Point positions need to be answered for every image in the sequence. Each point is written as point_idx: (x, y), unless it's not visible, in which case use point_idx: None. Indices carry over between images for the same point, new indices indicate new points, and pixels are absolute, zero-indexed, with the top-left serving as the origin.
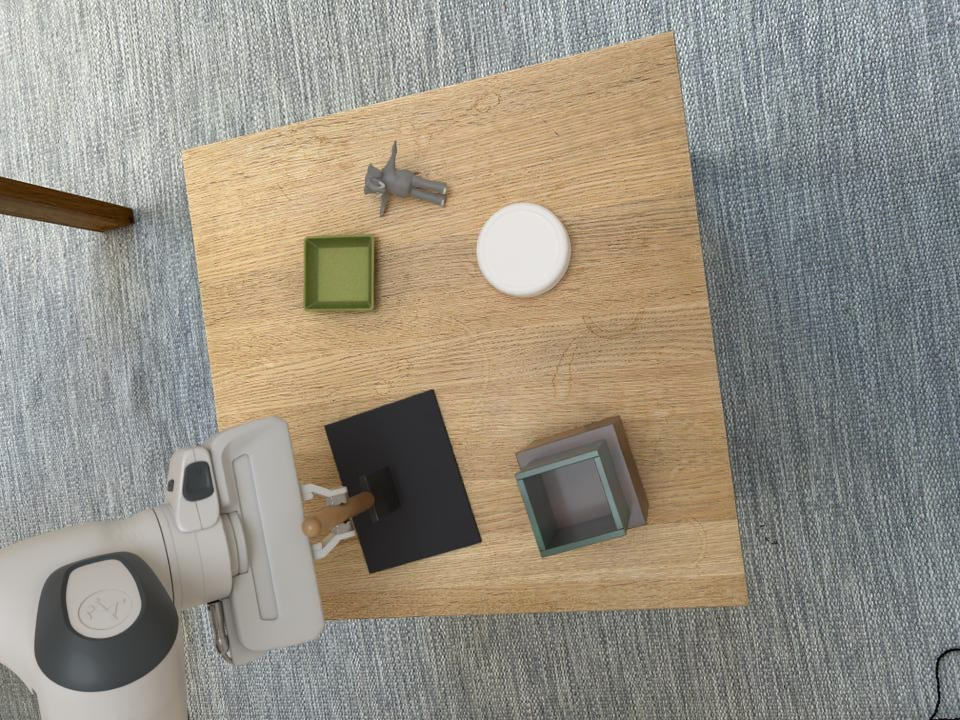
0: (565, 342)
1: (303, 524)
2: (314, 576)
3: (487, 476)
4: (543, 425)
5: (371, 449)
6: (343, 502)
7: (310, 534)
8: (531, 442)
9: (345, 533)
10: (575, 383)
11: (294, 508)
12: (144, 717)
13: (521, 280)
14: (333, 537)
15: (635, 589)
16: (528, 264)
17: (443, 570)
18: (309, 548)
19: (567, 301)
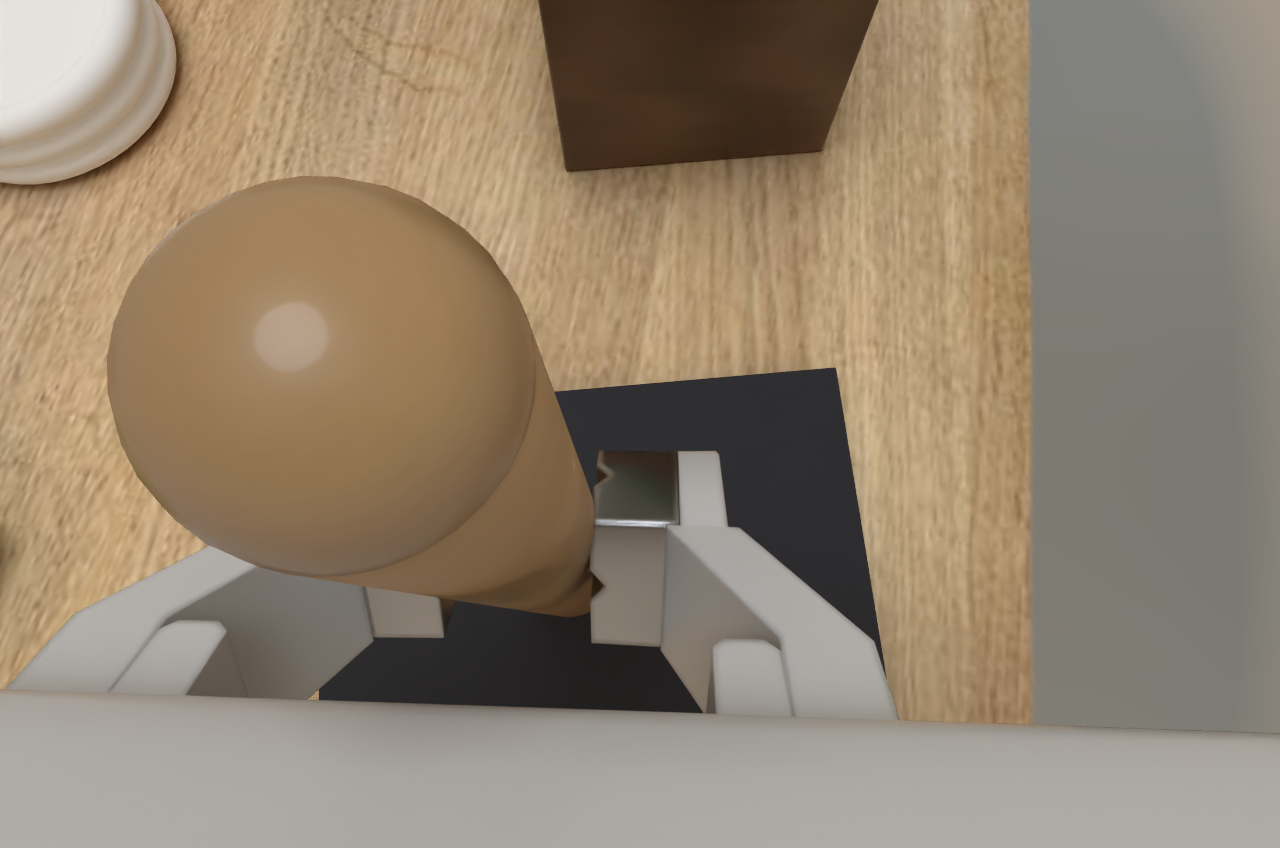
0: (328, 40)
1: (143, 416)
2: (1143, 738)
3: (637, 314)
4: (529, 136)
5: (455, 674)
6: None
7: (407, 291)
8: (563, 154)
9: (683, 486)
10: (441, 39)
11: (90, 790)
12: None
13: (77, 32)
14: (691, 557)
15: (1001, 14)
16: (42, 6)
17: (912, 517)
18: (748, 722)
19: (226, 15)
